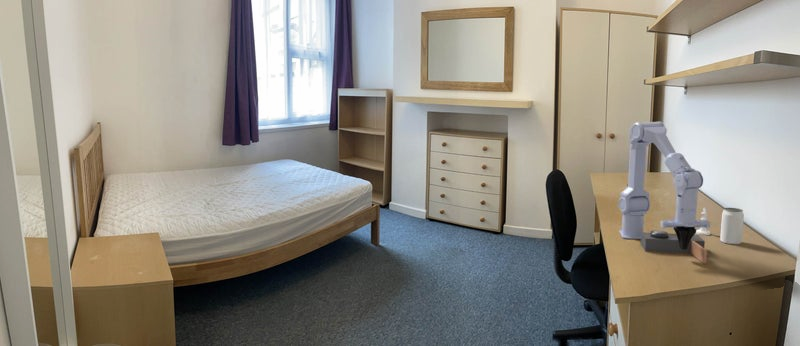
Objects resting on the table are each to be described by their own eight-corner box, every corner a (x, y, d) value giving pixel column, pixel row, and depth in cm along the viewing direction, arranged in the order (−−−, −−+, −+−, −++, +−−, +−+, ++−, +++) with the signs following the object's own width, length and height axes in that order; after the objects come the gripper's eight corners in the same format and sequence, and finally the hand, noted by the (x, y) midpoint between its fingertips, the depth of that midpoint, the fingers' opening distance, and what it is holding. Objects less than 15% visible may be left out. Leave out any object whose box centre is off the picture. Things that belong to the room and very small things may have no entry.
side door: (703, 263, 158) (704, 250, 157) (690, 252, 167) (691, 240, 167) (708, 263, 157) (709, 250, 157) (695, 253, 167) (696, 241, 166)
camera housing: (640, 244, 178) (641, 228, 177) (696, 247, 174) (698, 230, 173) (645, 251, 171) (646, 234, 170) (703, 254, 167) (705, 236, 166)
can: (721, 238, 182) (723, 206, 180) (742, 241, 178) (745, 208, 176) (718, 242, 177) (721, 210, 175) (740, 246, 173) (743, 212, 171)
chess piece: (705, 231, 191) (706, 206, 190) (713, 234, 187) (715, 209, 185) (692, 231, 191) (694, 206, 190) (700, 235, 186) (702, 209, 185)
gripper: (668, 211, 156) (665, 252, 159) (716, 211, 155) (713, 252, 157) (658, 206, 163) (656, 245, 166) (705, 205, 162) (701, 245, 164)
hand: (683, 248), depth 162 cm, fingers closed
